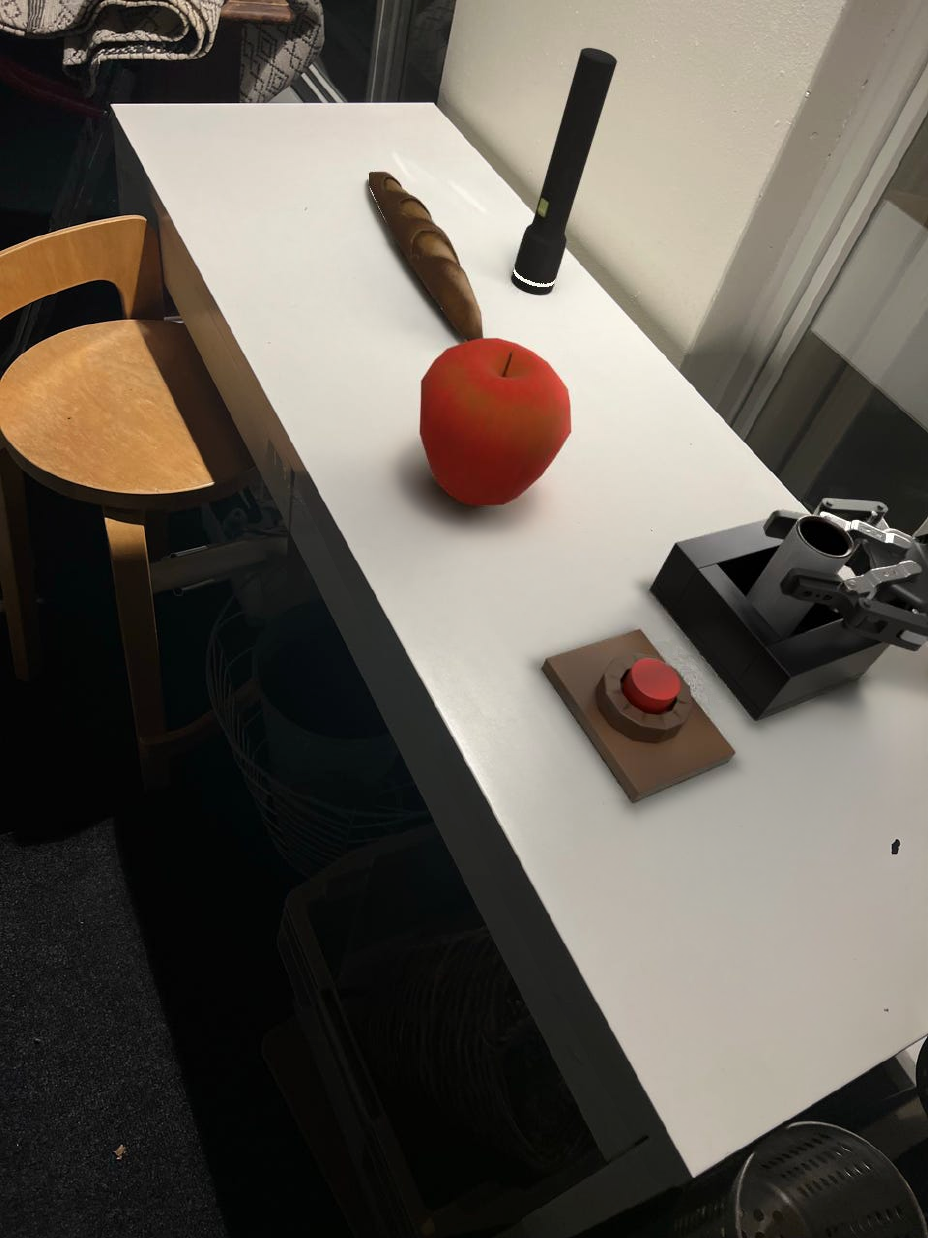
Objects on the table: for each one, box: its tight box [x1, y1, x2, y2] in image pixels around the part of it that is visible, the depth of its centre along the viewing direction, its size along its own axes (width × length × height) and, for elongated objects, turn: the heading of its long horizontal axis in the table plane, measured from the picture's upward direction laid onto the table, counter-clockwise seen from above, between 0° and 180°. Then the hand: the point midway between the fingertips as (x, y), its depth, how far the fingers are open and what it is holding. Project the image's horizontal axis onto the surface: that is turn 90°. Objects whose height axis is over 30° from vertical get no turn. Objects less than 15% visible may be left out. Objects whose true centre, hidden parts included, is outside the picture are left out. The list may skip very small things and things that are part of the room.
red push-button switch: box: [541, 628, 736, 803], centre depth 65 cm, size 12×9×3 cm
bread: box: [368, 171, 484, 342], centre depth 100 cm, size 38×5×5 cm, turn 21°
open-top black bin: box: [649, 517, 891, 721], centre depth 72 cm, size 14×12×6 cm
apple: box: [419, 337, 572, 508], centre depth 73 cm, size 12×12×14 cm
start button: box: [623, 658, 680, 714], centre depth 63 cm, size 4×4×2 cm
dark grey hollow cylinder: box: [746, 514, 855, 640], centre depth 70 cm, size 4×4×10 cm
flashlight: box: [510, 47, 618, 296], centre depth 96 cm, size 5×24×5 cm
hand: (777, 550), depth 67 cm, fingers open, 5 cm apart
